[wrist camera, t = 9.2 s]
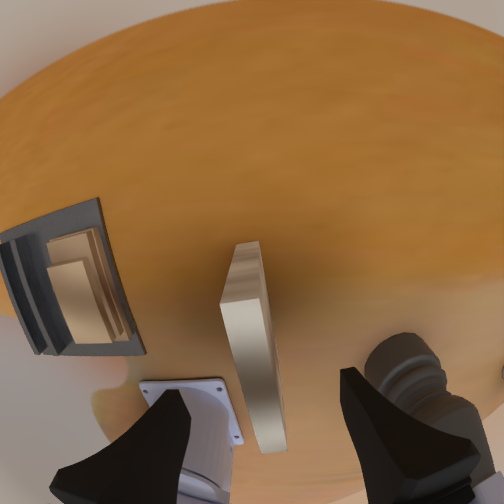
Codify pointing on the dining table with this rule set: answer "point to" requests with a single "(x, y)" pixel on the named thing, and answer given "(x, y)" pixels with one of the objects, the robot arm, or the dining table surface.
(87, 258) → the offcut stack
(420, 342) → the candle holder
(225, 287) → the beige flat block
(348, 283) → the dining table surface
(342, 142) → the dining table surface
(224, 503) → the robot arm
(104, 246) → the rack
